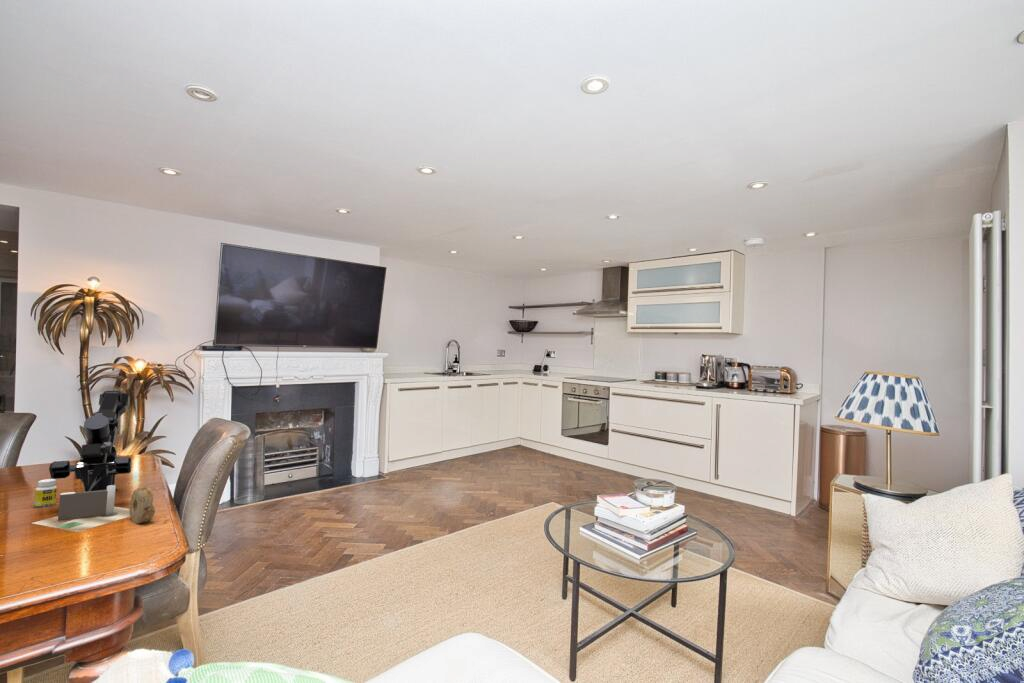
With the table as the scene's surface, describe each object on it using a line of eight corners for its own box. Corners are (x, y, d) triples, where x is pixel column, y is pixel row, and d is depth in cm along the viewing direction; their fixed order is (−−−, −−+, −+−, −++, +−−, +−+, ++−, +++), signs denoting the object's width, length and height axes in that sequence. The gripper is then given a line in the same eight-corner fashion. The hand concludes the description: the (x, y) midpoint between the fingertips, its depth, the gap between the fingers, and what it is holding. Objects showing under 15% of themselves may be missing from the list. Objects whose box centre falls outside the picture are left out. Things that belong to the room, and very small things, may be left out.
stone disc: (125, 520, 135) (128, 486, 135) (140, 517, 138) (143, 483, 138) (139, 528, 129) (141, 493, 130) (154, 525, 132) (157, 490, 133)
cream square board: (102, 506, 145) (102, 504, 145) (145, 513, 141) (145, 511, 141) (31, 525, 128) (31, 522, 128) (77, 534, 124) (77, 531, 124)
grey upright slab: (113, 512, 138) (116, 484, 139) (112, 514, 137) (115, 486, 137) (59, 518, 132) (61, 489, 132) (57, 520, 130) (60, 491, 130)
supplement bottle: (40, 510, 139) (43, 483, 140) (29, 509, 140) (31, 481, 141) (59, 506, 144) (61, 479, 144) (47, 504, 145) (50, 477, 145)
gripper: (53, 434, 137) (39, 480, 128) (133, 431, 148) (126, 473, 138) (58, 456, 143) (44, 501, 134) (134, 451, 154) (127, 493, 144)
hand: (86, 491), depth 137 cm, fingers closed
